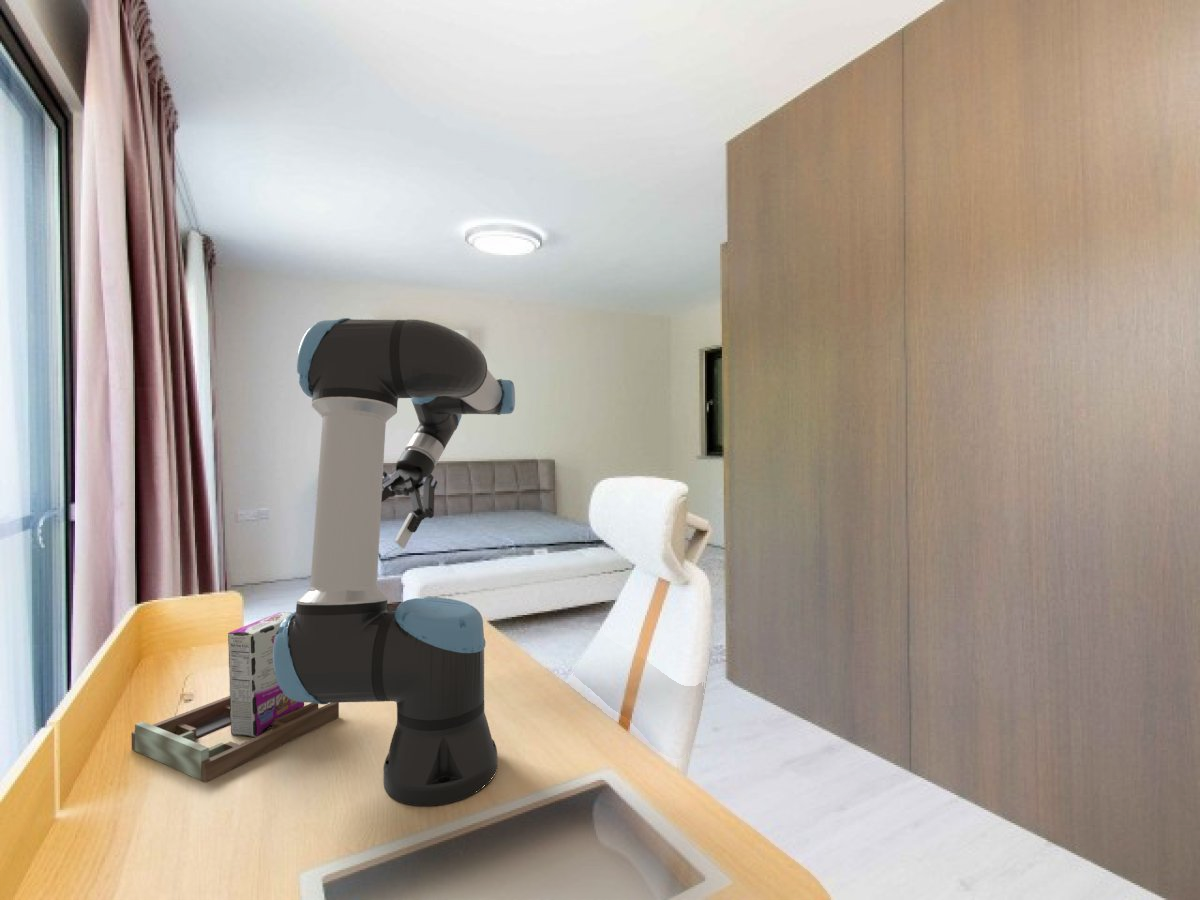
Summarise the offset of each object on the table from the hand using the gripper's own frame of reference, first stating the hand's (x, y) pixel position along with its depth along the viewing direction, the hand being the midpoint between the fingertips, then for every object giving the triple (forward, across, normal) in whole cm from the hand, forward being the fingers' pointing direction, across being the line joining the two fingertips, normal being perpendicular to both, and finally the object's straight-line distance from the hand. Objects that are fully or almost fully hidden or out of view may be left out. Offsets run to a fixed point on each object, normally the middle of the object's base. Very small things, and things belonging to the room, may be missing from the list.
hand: (372, 541), depth 116 cm
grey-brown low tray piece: (+37, 0, +4) cm, 38 cm away
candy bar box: (+35, 0, 0) cm, 35 cm away
